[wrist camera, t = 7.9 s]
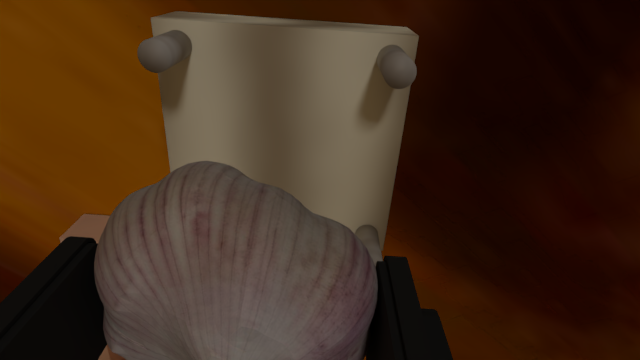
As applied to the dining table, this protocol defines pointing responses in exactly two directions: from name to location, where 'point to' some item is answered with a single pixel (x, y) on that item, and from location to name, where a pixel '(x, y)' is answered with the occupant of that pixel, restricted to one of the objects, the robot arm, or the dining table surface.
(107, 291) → the garlic bulb
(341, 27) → the peg rest
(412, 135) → the dining table surface
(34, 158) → the dining table surface
